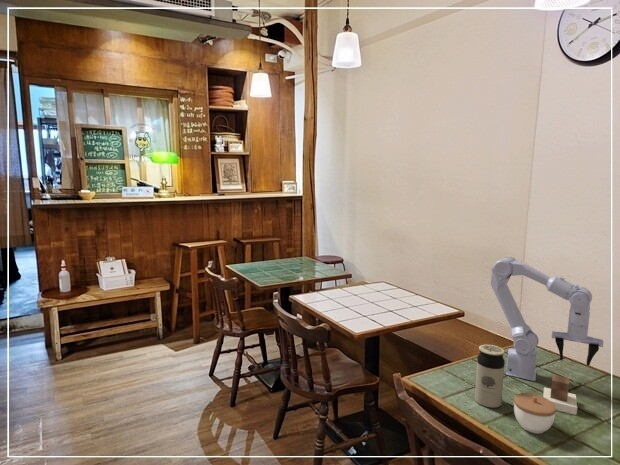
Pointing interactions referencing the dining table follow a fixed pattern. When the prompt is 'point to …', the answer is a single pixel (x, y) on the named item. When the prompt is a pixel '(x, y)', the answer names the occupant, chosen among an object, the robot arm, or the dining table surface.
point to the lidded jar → (534, 412)
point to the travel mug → (489, 376)
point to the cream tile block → (563, 402)
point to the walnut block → (559, 388)
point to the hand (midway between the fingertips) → (574, 361)
